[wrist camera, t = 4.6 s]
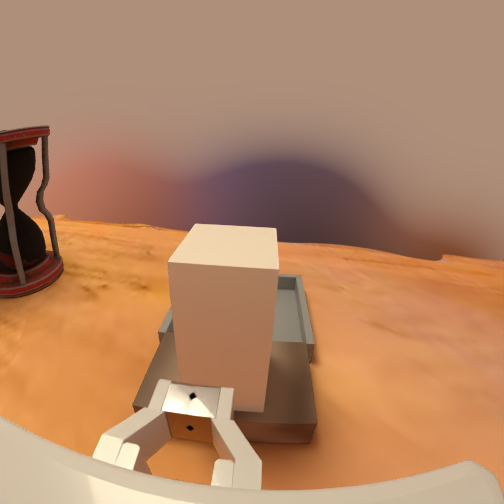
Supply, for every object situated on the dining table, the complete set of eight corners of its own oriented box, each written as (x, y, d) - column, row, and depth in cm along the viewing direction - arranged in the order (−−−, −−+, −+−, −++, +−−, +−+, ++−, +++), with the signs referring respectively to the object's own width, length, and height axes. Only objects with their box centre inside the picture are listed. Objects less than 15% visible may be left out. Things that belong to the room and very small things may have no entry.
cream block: (265, 353, 27) (276, 228, 22) (263, 412, 20) (279, 269, 16) (200, 348, 27) (195, 223, 23) (184, 404, 21) (167, 261, 16)
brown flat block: (301, 364, 30) (305, 342, 29) (309, 443, 21) (317, 423, 19) (168, 353, 30) (165, 331, 29) (140, 426, 21) (132, 404, 20)
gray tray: (299, 290, 45) (301, 275, 44) (310, 361, 30) (314, 344, 29) (191, 283, 45) (191, 268, 44) (160, 349, 31) (158, 331, 30)
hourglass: (58, 251, 53) (46, 128, 43) (70, 283, 42) (53, 121, 32) (-10, 269, 43) (-28, 143, 33) (-15, 307, 32) (-46, 142, 22)
